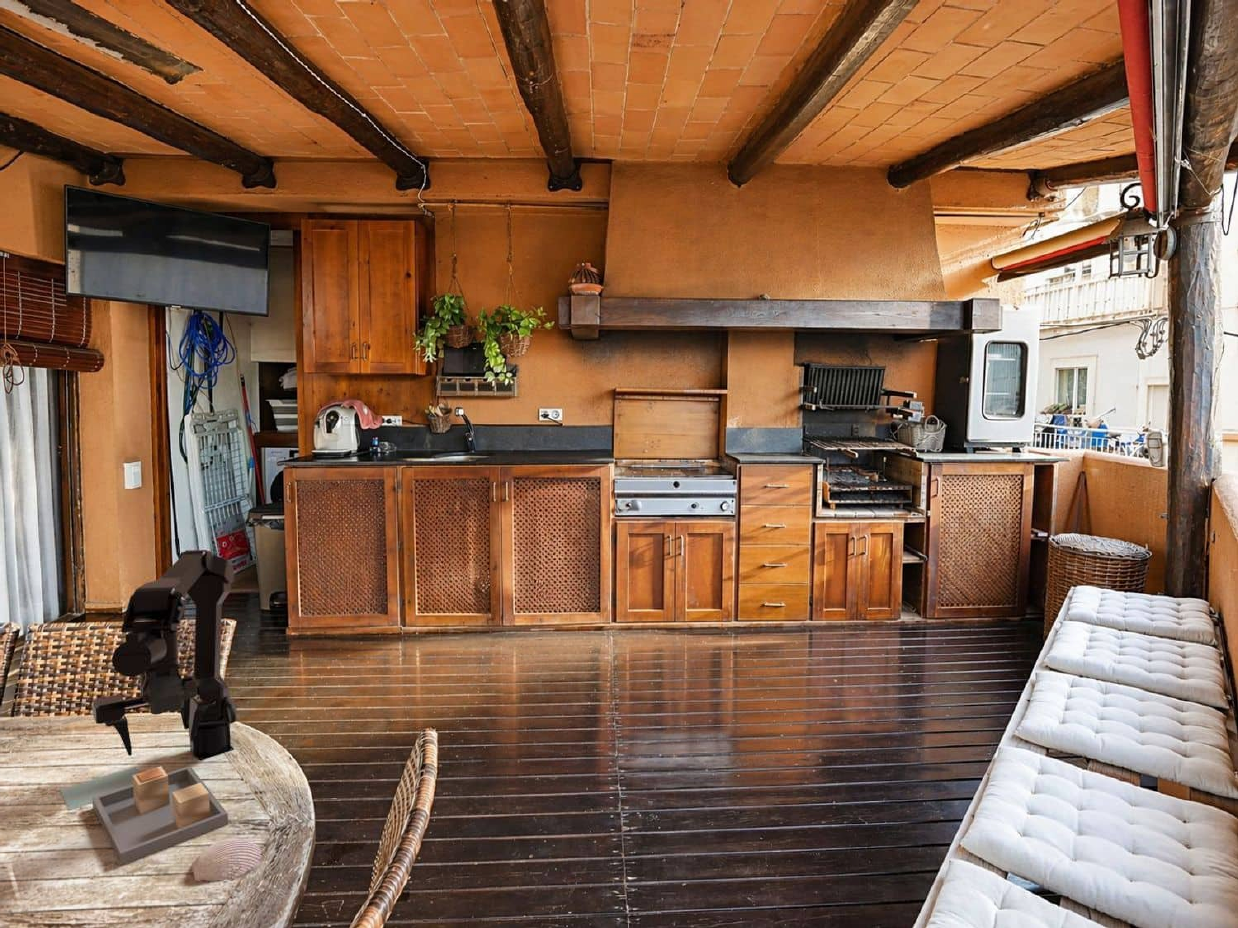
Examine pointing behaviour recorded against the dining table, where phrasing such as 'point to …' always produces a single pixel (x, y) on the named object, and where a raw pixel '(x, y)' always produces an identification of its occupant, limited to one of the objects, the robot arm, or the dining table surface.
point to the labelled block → (151, 790)
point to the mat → (97, 788)
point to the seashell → (226, 860)
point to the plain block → (190, 805)
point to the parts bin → (151, 820)
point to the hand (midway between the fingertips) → (161, 747)
